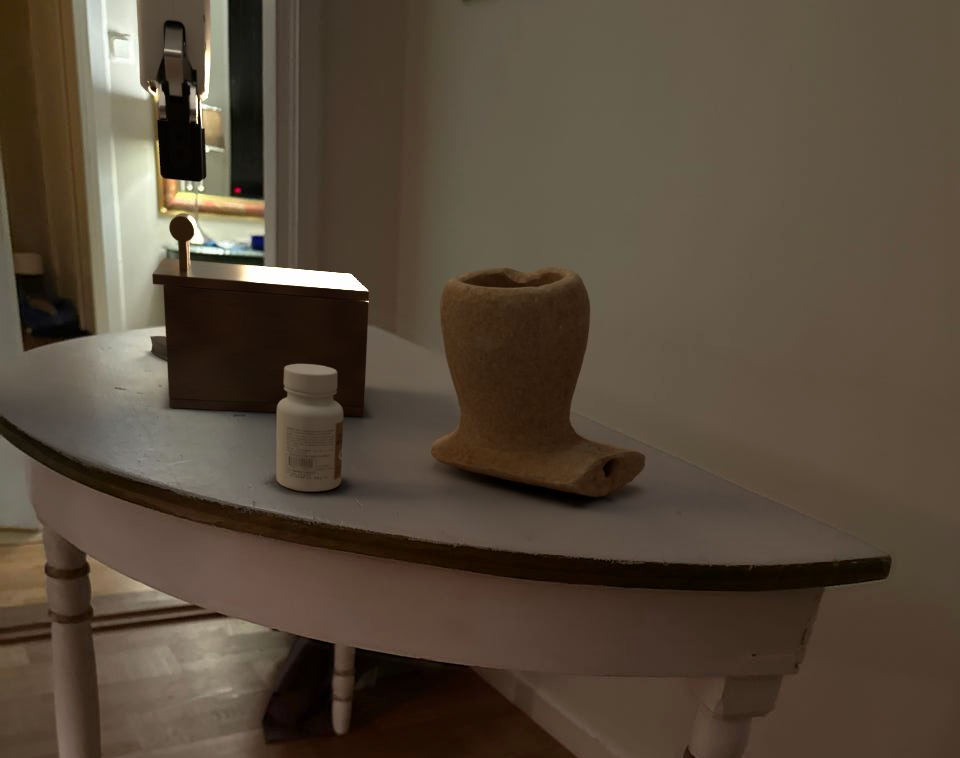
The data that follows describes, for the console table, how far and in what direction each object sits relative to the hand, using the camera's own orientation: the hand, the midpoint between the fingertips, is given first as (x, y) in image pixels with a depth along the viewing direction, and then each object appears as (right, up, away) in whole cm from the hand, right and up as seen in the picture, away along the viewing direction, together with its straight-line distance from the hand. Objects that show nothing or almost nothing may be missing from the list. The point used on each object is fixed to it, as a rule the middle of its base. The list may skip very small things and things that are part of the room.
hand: (185, 178), depth 76 cm
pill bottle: (+13, -28, -13) cm, 33 cm away
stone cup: (+28, -27, -7) cm, 39 cm away
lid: (+5, -7, +5) cm, 10 cm away
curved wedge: (-5, -9, +21) cm, 23 cm away
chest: (+5, -15, +10) cm, 19 cm away
